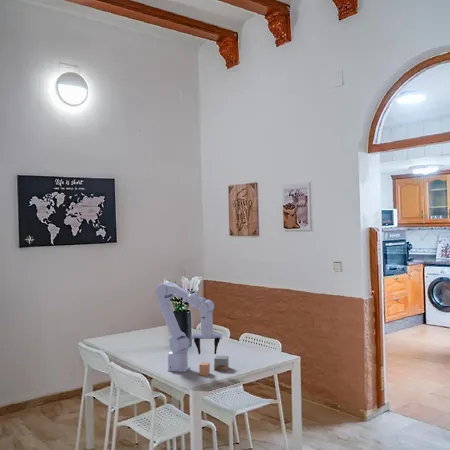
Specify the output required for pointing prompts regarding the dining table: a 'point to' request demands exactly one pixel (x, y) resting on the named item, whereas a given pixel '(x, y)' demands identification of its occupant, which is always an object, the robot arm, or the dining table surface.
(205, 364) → the tan clay cube
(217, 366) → the walnut slab
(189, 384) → the dining table surface
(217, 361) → the slate slab
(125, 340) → the dining table surface
